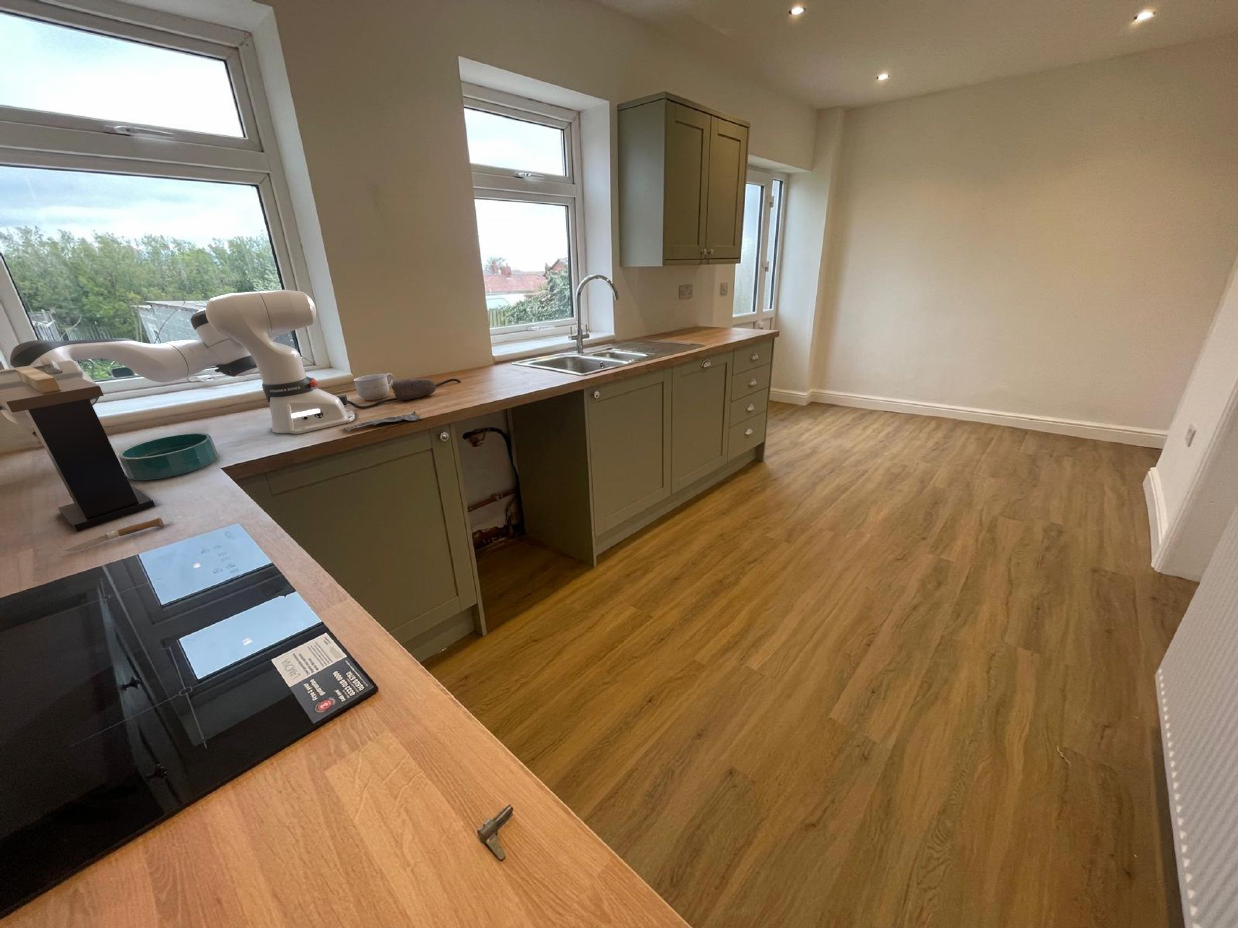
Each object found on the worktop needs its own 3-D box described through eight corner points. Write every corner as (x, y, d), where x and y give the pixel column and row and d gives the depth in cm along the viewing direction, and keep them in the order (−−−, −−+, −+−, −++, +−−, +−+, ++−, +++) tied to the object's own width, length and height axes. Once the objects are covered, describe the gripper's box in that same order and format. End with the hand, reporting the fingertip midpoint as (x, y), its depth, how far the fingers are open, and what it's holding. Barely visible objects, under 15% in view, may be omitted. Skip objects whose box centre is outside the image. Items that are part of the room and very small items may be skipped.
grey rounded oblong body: (435, 392, 183) (431, 373, 180) (440, 395, 179) (436, 376, 176) (392, 400, 175) (388, 381, 172) (396, 403, 171) (391, 384, 168)
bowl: (222, 449, 137) (214, 428, 134) (213, 470, 123) (204, 447, 120) (139, 464, 129) (129, 442, 126) (119, 488, 115) (107, 464, 112)
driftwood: (345, 434, 144) (343, 427, 143) (343, 428, 149) (341, 421, 148) (420, 420, 153) (418, 414, 152) (416, 415, 159) (414, 409, 158)
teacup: (363, 404, 172) (358, 381, 169) (354, 398, 180) (349, 376, 177) (404, 396, 181) (399, 374, 177) (394, 390, 188) (389, 369, 185)
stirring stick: (20, 380, 103) (14, 369, 102) (37, 378, 105) (31, 366, 104) (42, 393, 91) (36, 380, 90) (61, 390, 93) (54, 377, 92)
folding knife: (66, 557, 88) (60, 548, 87) (66, 554, 89) (60, 544, 88) (165, 527, 97) (160, 518, 96) (164, 524, 98) (160, 515, 97)
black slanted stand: (59, 511, 105) (-8, 391, 95) (132, 489, 114) (78, 377, 104) (77, 531, 96) (5, 401, 86) (155, 506, 105) (99, 385, 95)
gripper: (89, 391, 126) (88, 368, 116) (-37, 414, 110) (-49, 389, 101) (76, 369, 125) (74, 344, 116) (-52, 388, 110) (-66, 361, 101)
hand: (15, 365), depth 109 cm, fingers open, 8 cm apart
